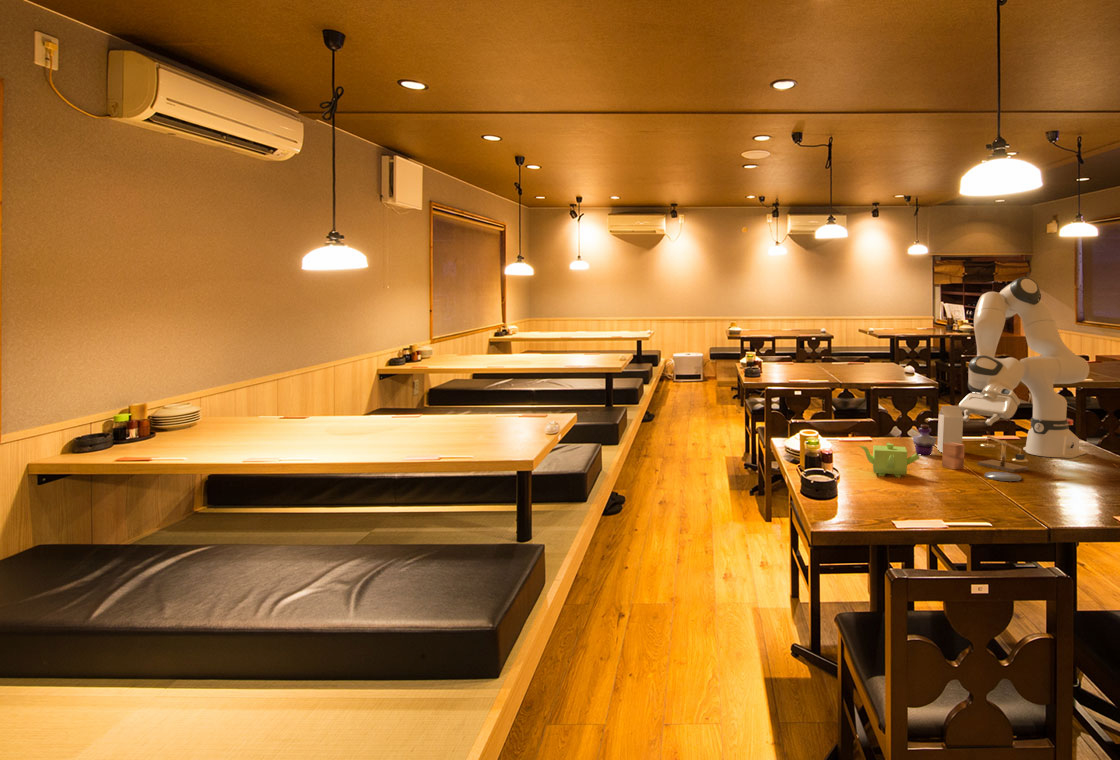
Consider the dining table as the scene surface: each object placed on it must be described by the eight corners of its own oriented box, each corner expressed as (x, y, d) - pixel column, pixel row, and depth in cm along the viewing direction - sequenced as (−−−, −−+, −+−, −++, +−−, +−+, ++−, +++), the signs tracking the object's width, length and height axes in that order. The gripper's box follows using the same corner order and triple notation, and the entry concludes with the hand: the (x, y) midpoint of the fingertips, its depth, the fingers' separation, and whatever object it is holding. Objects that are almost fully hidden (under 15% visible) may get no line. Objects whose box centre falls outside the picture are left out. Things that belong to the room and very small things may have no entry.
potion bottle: (923, 451, 298) (924, 422, 297) (940, 455, 290) (942, 425, 289) (906, 453, 296) (907, 424, 294) (923, 457, 288) (924, 427, 286)
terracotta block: (951, 465, 273) (952, 442, 272) (963, 468, 269) (964, 444, 268) (942, 467, 271) (943, 443, 270) (954, 470, 267) (955, 445, 266)
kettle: (857, 472, 265) (858, 442, 264) (885, 468, 272) (886, 438, 270) (892, 481, 252) (893, 449, 251) (920, 476, 258) (921, 445, 257)
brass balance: (987, 461, 278) (989, 433, 277) (1033, 471, 262) (1035, 441, 261) (973, 463, 275) (974, 435, 274) (1018, 473, 259) (1020, 443, 258)
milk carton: (961, 454, 292) (963, 407, 290) (942, 453, 293) (944, 407, 291) (955, 450, 299) (957, 404, 296) (937, 450, 300) (938, 404, 298)
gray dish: (998, 472, 261) (998, 470, 261) (1028, 479, 251) (1028, 477, 251) (977, 476, 257) (977, 473, 257) (1007, 483, 247) (1007, 480, 247)
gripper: (966, 386, 284) (947, 413, 281) (1017, 392, 265) (997, 420, 263) (974, 396, 286) (955, 423, 284) (1024, 403, 268) (1005, 431, 265)
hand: (976, 422), depth 273 cm, fingers open, 8 cm apart
